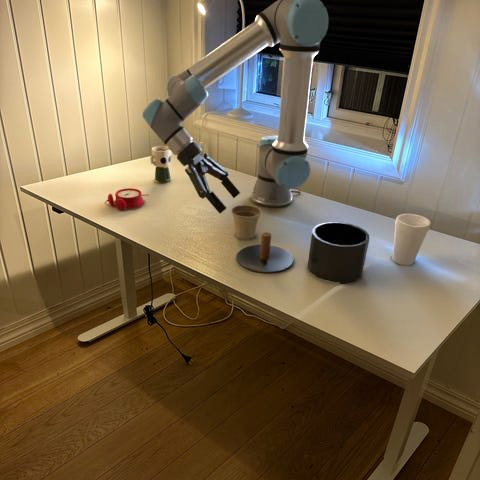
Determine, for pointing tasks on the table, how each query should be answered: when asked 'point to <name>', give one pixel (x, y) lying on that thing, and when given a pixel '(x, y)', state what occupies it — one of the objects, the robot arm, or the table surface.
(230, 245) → the table surface
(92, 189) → the table surface
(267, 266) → the lid
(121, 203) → the alarm clock
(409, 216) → the foam cup
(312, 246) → the canister
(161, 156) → the character mug
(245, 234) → the flower pot
